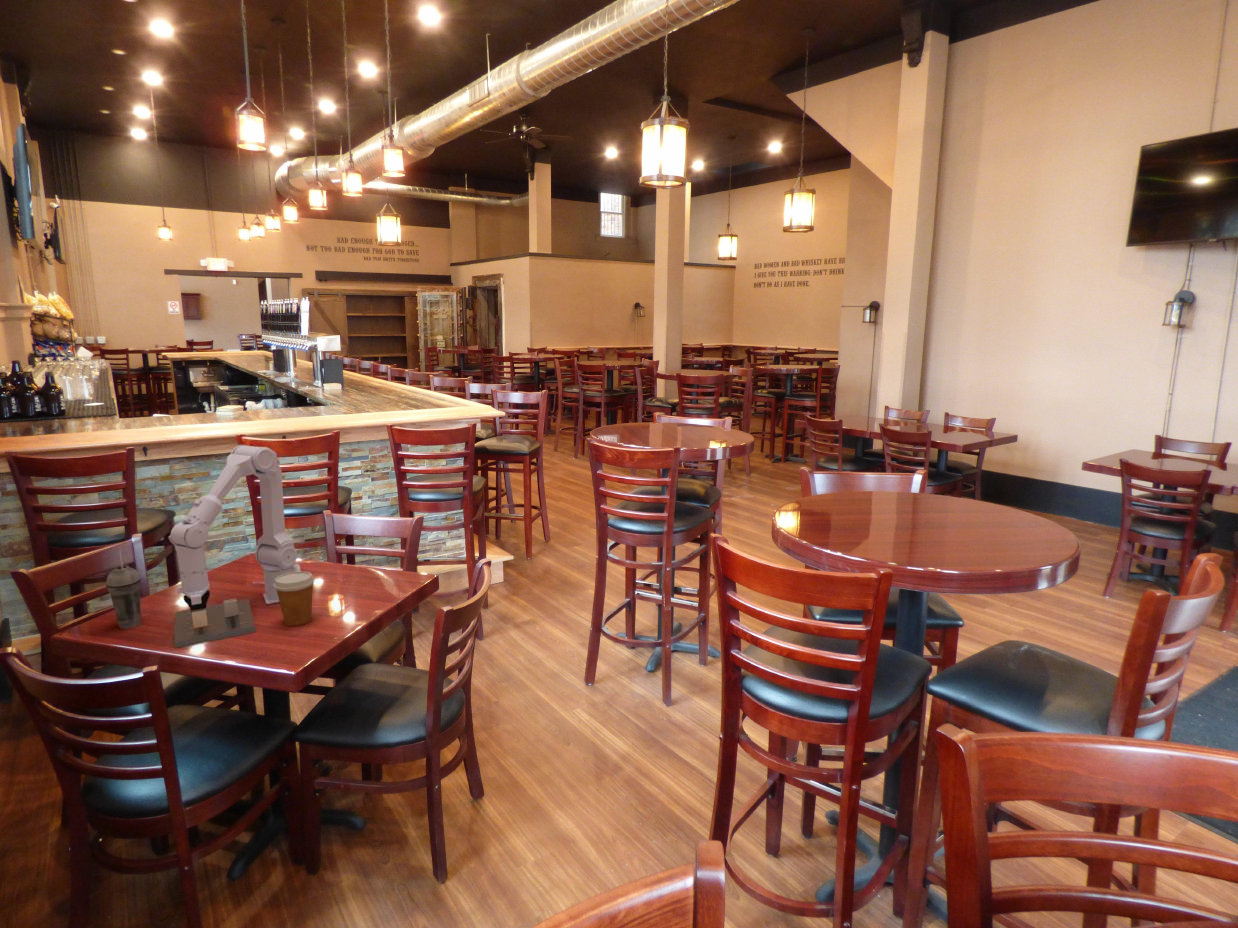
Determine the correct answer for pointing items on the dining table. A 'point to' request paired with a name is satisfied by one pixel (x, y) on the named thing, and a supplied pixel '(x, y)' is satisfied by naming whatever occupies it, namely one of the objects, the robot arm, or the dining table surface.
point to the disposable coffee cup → (295, 597)
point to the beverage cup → (125, 595)
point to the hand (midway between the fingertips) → (200, 621)
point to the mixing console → (213, 624)
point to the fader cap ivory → (199, 618)
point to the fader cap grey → (230, 607)
